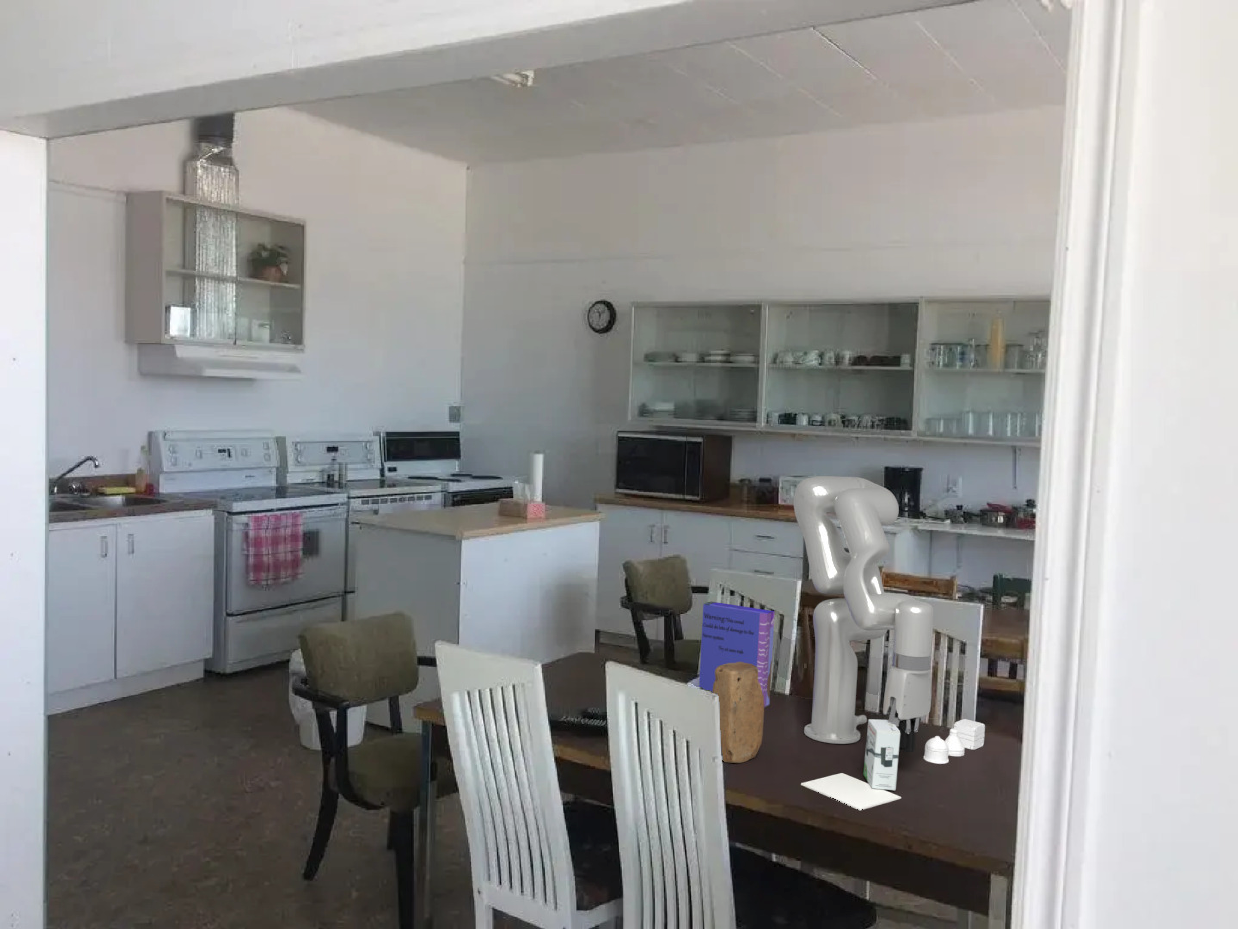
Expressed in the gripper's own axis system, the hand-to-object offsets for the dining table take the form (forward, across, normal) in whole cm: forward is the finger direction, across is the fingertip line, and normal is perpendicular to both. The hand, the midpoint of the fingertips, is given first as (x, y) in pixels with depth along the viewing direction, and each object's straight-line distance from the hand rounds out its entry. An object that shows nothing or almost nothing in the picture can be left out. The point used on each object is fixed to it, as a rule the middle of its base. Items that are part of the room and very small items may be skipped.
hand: (905, 750), depth 215 cm
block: (+6, +23, -26) cm, 35 cm away
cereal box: (+6, -6, -58) cm, 59 cm away
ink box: (+6, +8, 0) cm, 10 cm away
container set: (+6, -23, -5) cm, 24 cm away
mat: (+6, +16, 0) cm, 17 cm away
